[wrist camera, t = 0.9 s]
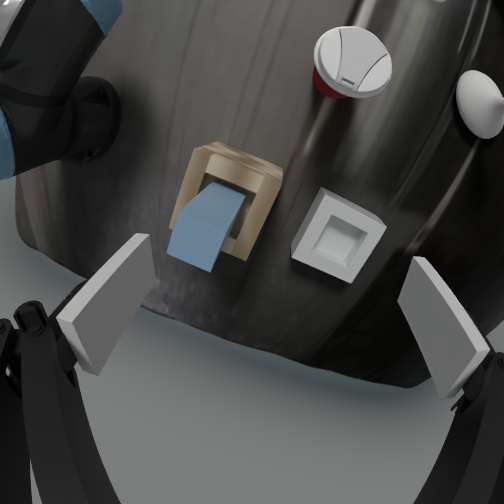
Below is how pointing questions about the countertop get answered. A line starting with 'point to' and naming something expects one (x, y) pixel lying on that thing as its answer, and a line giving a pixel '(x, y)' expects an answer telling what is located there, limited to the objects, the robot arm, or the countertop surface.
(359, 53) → the paper cup
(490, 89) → the flower in vase
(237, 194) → the plug
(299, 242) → the block
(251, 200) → the block
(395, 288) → the countertop surface
